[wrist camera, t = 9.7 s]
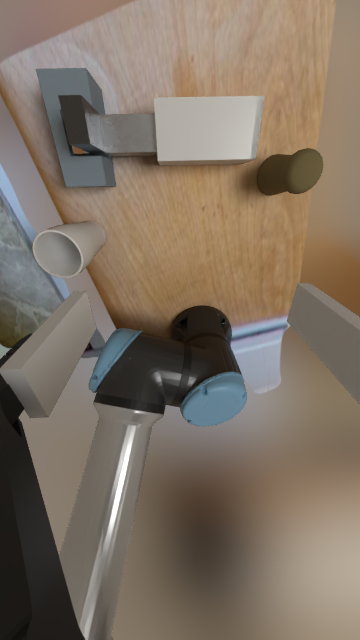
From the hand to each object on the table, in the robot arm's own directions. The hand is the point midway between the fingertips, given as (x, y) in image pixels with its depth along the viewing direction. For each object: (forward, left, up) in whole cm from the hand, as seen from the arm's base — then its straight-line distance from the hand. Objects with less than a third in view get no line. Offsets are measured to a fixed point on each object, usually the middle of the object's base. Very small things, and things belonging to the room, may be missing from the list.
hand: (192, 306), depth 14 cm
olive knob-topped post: (+8, -17, -33) cm, 38 cm away
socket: (+13, +14, -33) cm, 38 cm away
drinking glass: (-1, +17, -33) cm, 37 cm away
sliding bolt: (+13, +6, -31) cm, 34 cm away
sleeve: (+13, -4, -33) cm, 35 cm away
